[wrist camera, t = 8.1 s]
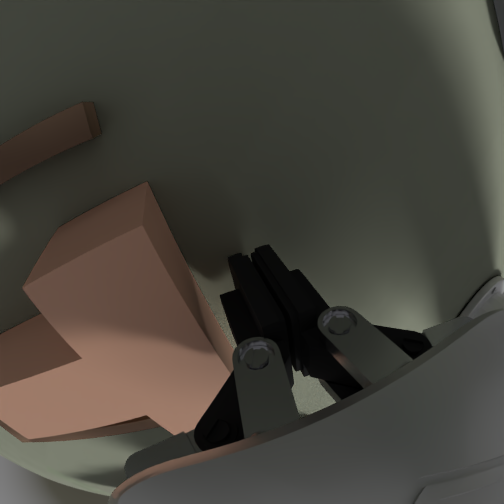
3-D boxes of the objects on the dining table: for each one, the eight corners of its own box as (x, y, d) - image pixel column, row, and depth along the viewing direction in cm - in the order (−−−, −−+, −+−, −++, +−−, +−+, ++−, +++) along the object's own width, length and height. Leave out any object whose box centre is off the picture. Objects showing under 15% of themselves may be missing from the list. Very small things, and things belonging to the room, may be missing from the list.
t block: (235, 352, 15) (258, 413, 12) (68, 408, 14) (66, 461, 11) (147, 181, 10) (142, 225, 6) (-42, 296, 8) (-73, 350, 5)
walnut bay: (212, 392, 16) (218, 411, 15) (24, 426, 14) (22, 442, 12) (93, 102, 8) (82, 102, 6) (-113, 250, 5) (-125, 264, 4)
